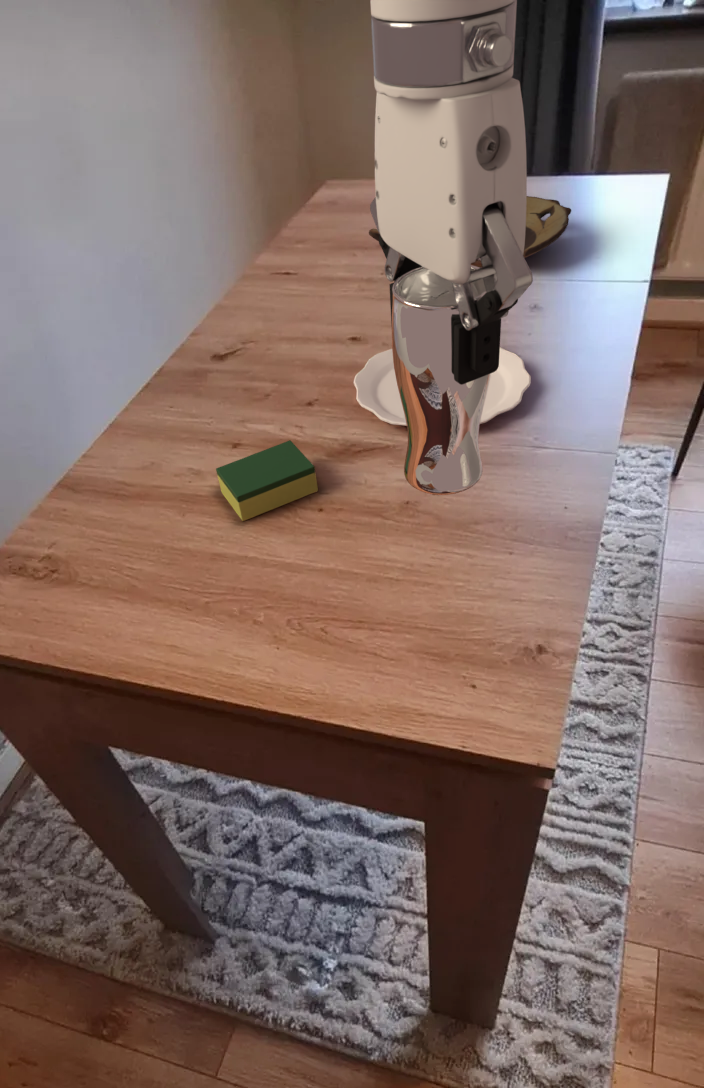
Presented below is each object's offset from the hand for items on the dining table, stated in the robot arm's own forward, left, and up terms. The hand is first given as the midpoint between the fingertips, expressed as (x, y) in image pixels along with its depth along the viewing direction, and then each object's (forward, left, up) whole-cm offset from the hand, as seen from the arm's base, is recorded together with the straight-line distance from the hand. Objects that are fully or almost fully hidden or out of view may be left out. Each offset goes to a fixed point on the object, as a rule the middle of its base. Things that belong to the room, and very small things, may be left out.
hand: (443, 351), depth 55 cm
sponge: (+7, -24, -25) cm, 35 cm away
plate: (-19, -30, -25) cm, 44 cm away
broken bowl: (-44, -60, -25) cm, 79 cm away
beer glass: (0, 0, -10) cm, 10 cm away
